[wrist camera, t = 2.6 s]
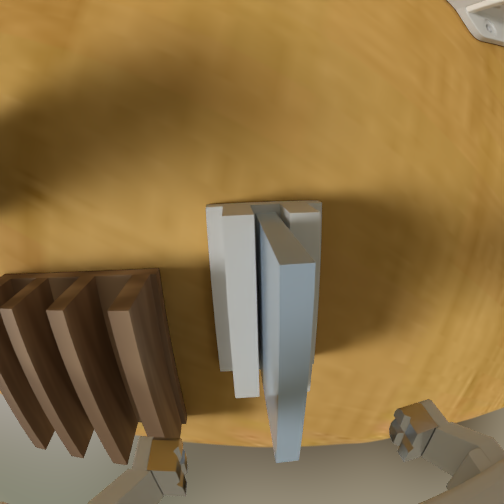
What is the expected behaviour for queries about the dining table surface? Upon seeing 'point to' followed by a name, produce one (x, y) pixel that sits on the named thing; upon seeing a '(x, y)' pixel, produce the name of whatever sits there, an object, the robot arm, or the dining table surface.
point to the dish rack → (89, 358)
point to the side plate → (284, 330)
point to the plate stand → (251, 280)
